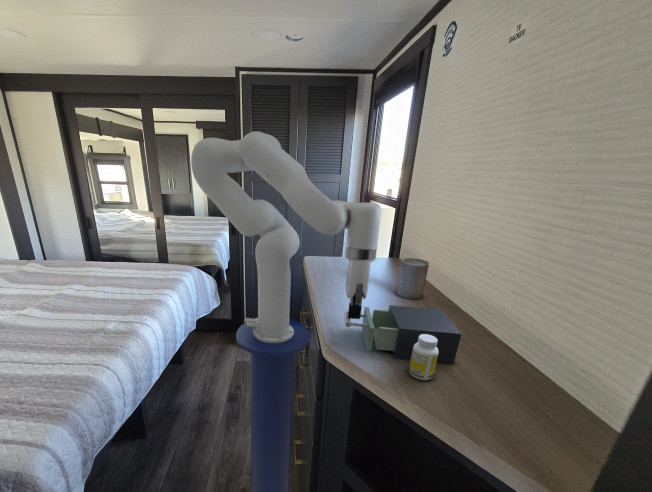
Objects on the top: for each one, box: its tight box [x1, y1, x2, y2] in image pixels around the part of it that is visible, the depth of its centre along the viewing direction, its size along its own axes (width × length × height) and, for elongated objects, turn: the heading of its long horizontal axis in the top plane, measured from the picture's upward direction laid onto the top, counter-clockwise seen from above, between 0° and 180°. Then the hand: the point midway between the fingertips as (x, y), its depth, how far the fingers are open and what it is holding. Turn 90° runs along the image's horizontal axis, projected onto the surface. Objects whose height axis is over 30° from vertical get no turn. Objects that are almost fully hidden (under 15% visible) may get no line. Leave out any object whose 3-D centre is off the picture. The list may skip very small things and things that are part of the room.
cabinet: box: [388, 304, 462, 364], centre depth 85 cm, size 15×15×9 cm
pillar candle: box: [395, 257, 430, 300], centre depth 120 cm, size 10×10×15 cm
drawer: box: [343, 306, 398, 352], centre depth 86 cm, size 20×13×7 cm
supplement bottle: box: [408, 334, 439, 381], centre depth 73 cm, size 5×5×10 cm
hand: (354, 317), depth 86 cm, fingers closed
